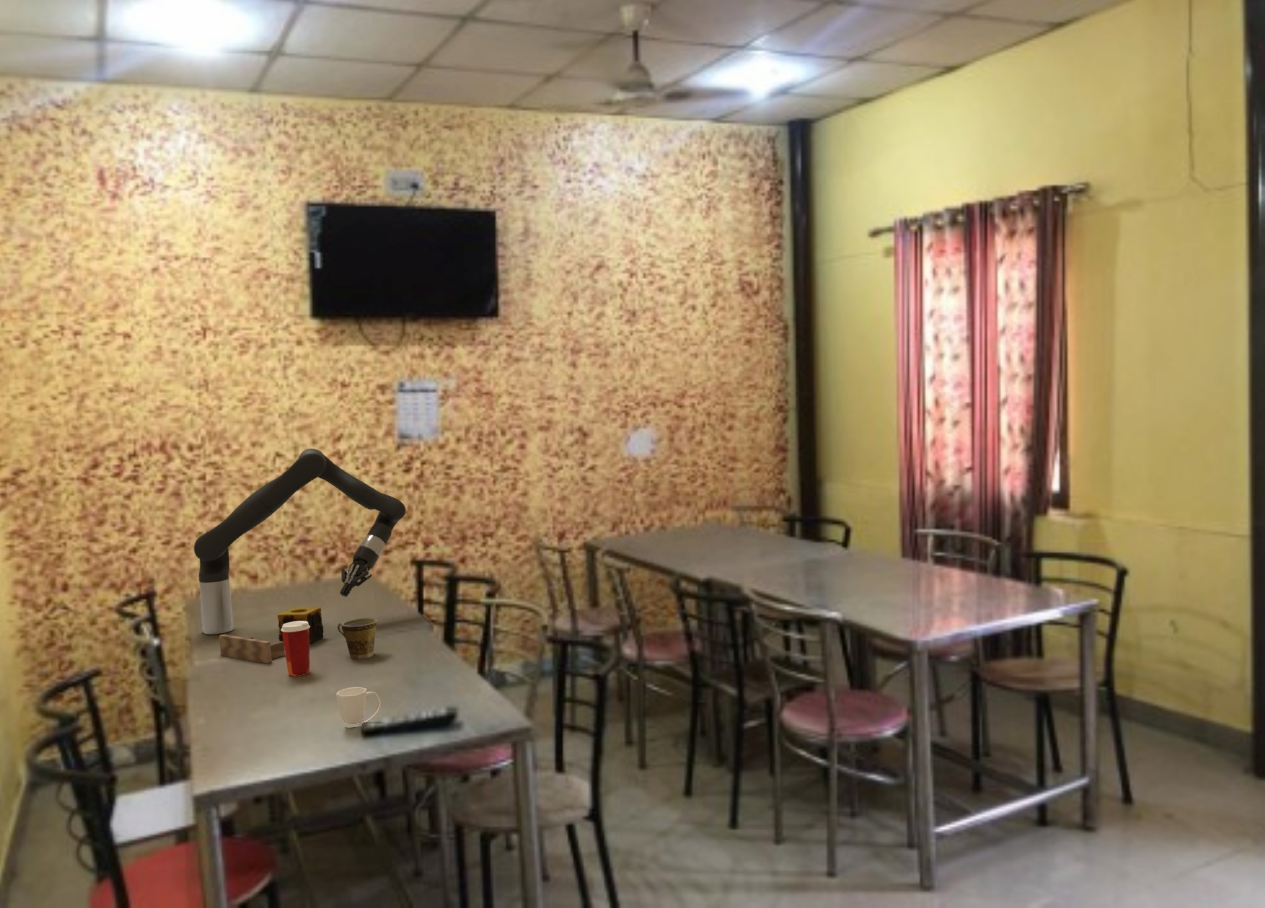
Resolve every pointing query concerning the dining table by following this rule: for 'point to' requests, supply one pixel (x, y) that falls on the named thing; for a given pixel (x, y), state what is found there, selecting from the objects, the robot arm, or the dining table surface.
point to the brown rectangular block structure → (250, 648)
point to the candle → (304, 614)
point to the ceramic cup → (359, 636)
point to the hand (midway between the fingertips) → (343, 595)
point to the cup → (354, 704)
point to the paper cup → (297, 647)
